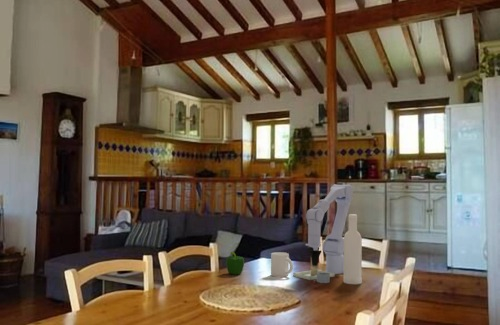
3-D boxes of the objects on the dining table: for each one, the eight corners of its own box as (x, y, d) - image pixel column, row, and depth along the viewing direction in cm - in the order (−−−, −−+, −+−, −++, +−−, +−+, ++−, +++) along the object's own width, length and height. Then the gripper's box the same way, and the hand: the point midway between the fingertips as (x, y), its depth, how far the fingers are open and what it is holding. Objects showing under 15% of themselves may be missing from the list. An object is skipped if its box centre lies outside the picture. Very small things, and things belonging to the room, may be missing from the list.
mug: (298, 277, 211) (298, 254, 212) (285, 279, 206) (286, 256, 206) (279, 273, 220) (279, 251, 221) (267, 275, 215) (267, 253, 215)
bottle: (343, 280, 205) (343, 213, 207) (361, 281, 204) (361, 214, 205) (343, 284, 197) (343, 214, 199) (362, 285, 196) (362, 215, 197)
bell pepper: (247, 274, 216) (247, 253, 217) (232, 276, 212) (232, 254, 212) (237, 271, 223) (238, 250, 224) (223, 273, 219) (223, 252, 219)
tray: (317, 273, 222) (317, 269, 222) (334, 277, 213) (334, 273, 213) (293, 276, 212) (293, 272, 212) (310, 280, 204) (310, 276, 204)
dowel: (313, 274, 215) (314, 255, 215) (318, 275, 213) (318, 256, 213) (309, 275, 213) (309, 255, 214) (313, 276, 211) (314, 256, 211)
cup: (322, 280, 205) (322, 272, 205) (332, 282, 200) (332, 274, 200) (313, 282, 201) (314, 273, 201) (323, 284, 197) (323, 275, 197)
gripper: (304, 233, 221) (304, 261, 221) (306, 236, 207) (306, 266, 206) (319, 233, 221) (319, 261, 220) (322, 236, 206) (322, 267, 206)
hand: (314, 264), depth 213 cm, fingers open, 7 cm apart
